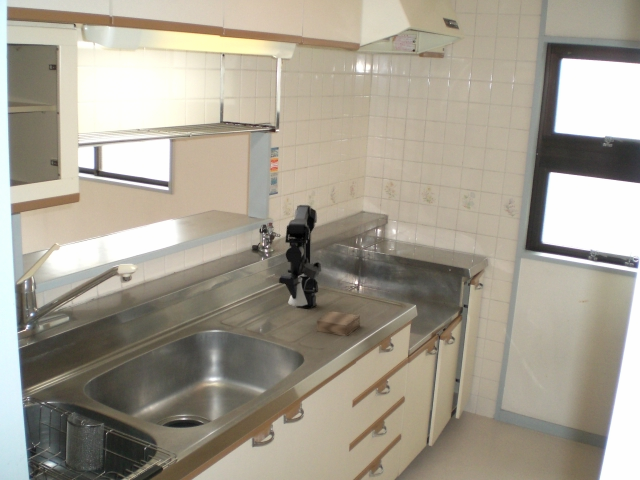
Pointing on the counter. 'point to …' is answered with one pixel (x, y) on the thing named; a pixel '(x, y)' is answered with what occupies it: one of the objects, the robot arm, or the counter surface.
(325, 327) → the walnut block
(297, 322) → the counter surface
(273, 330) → the counter surface
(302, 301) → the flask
